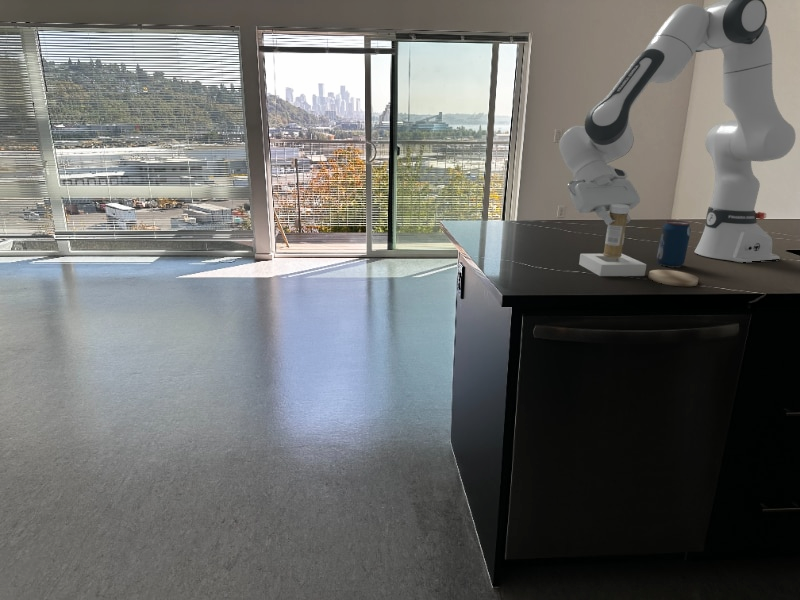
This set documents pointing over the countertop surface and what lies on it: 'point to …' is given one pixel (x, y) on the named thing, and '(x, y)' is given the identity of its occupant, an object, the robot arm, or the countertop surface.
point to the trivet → (673, 278)
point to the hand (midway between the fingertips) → (619, 222)
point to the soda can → (673, 243)
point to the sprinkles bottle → (616, 231)
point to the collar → (612, 265)
